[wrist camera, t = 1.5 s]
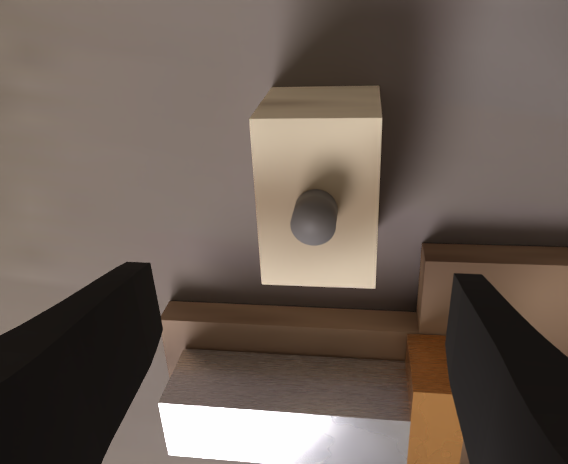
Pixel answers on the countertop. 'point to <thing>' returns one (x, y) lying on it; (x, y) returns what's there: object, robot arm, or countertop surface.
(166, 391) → the block
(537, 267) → the press bed
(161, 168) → the countertop surface
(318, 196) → the block
